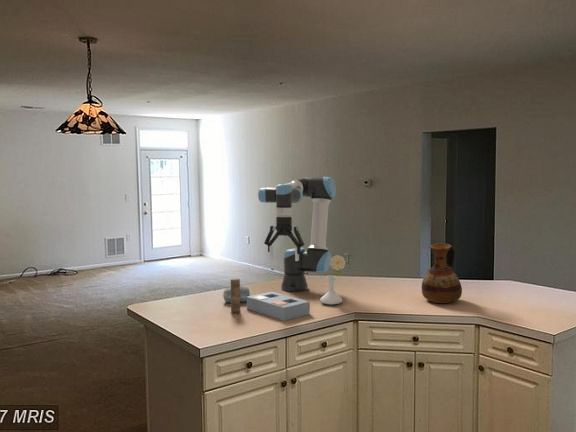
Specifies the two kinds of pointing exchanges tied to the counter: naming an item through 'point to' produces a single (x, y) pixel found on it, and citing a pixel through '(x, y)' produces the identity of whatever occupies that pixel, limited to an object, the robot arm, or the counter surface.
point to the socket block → (278, 305)
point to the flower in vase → (331, 296)
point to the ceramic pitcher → (442, 276)
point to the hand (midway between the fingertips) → (284, 259)
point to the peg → (235, 296)
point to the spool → (243, 294)
